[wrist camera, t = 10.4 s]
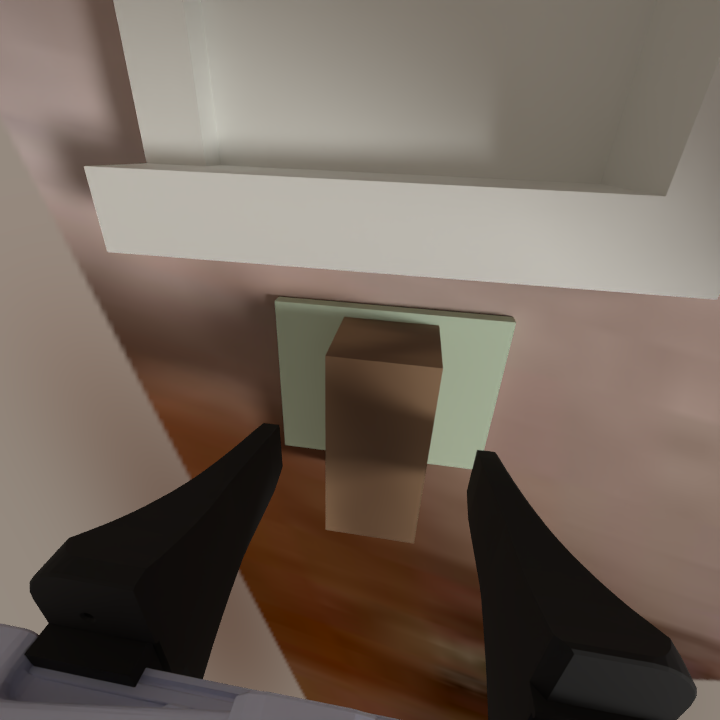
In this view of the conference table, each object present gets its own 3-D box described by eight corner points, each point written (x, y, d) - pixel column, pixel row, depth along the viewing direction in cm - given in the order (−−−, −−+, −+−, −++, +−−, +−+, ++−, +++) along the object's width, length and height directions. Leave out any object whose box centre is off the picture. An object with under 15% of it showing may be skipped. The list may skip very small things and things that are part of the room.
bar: (439, 325, 16) (443, 368, 13) (415, 482, 20) (413, 543, 17) (343, 316, 16) (325, 355, 13) (340, 472, 21) (325, 529, 18)
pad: (513, 316, 16) (515, 322, 15) (477, 461, 20) (478, 470, 19) (279, 296, 17) (274, 301, 16) (288, 437, 21) (285, 445, 20)
